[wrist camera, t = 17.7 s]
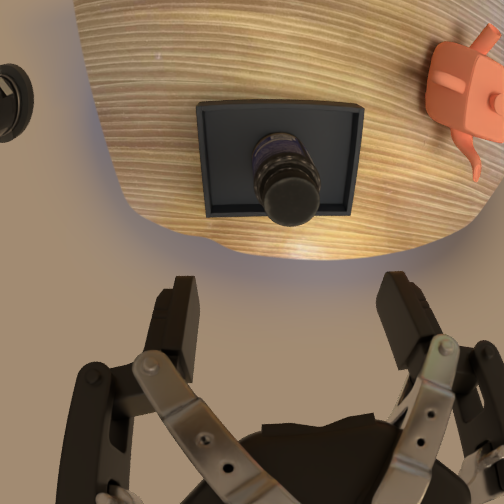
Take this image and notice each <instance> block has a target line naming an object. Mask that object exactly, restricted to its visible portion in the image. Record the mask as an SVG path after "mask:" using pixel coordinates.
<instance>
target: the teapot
mask: <svg viewBox="0 0 504 504" xmlns="http://www.w3.org/2000/svg"><path fill="white" fill-rule="evenodd" d="M500 37H501V33H500V32H499V30H498V29H497V28H496V27H494V26H493V25H492V24H490V23H488V24H487V26H486V27H485V28H484V30H483V31H482V32H481V33H480V35H479V36H478V37H477V38H476V40H475V41H474V42H473V44H472V45H471V46H470V47H466V46H463V45H461V44H458V43H454V42H448V41H444V42H442V43H440V44H438V45H437V47H436V49H435V51H434V54H433V55H432V57H431V65H430V69H429V74H428V80H427V89H426V93H425V100H426V104H425V105H426V111H427V113H428V115H429V116H430V118H432V119H433V120H434V121H436V122H438V123H440V124H443V125H445V126H447V127H450V131H451V136H452V139H453V141H454V143H455V145H456V146H457V147H458V149H459V150H460V151H461V152H462V153H463V154H464V155H465V156H466V157H467V158H468V159H469V161H470V163H471V165H472V170H473V180H474V182H477V181H478V179H479V177H480V173H481V160H480V157H479V155H478V154H477V152H476V151H475V149H474V147H473V136H475V137H478V138H482V139H485V140H489V141H493V142H497V143H503V142H504V66H502V65H501V64H499V63H498V62H496V61H494V60H493V59H491V58H489V57H488V56H486V54H487V53H488V52H489V51H490V49H491V48H492V47H493V46H494V45H495V43H496V42H497V41H498V40H499V38H500Z"/></svg>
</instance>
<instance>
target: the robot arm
mask: <svg viewBox="0 0 504 504" xmlns="http://www.w3.org/2000/svg"><path fill="white" fill-rule="evenodd" d="M21 109H22V98H21V92H20V89H19V86H18V84H17V83H16V81H15V80H14V79H13V78H12V77H11V76H9V75H7V74H0V137H1V136H4V135H6V134H8V133H9V132H11V131H12V130H13V129H14V128H15V126H16V125H17V123H18V121H19V118H20V115H21ZM376 308H377V312H378V314H379V317H380V319H381V322H382V325H383V328H384V330H385V333H386V336H387V338H388V341H389V344H390V347H391V350H392V352H393V355H394V358H395V361H396V364H397V367H398V370H404V369H408V371H409V374H408V376H407V378H406V380H405V383H404V386H403V388H402V390H401V393H400V395H399V397H398V400H397V402H396V405H395V407H394V409H393V411H392V413H391V414H390V416H389V417H388V419H387V421H386V422H385V421H382V420H376V419H375V417H374V413H369V414H363V415H357V416H350V417H347V418H344V419H342V420H339V421H336V422H334V423H331V424H329V425H326V426H323V427H315V426H308V425H301V424H295V423H282V424H262V430H261V431H259V432H255V433H253V434H250V435H248V436H246V437H244V438H242V439H241V440H239V441H237V440H236V439H235V438H234V437H233V435H232V434H231V433H230V432H229V431H228V430H227V428H226V427H225V426H224V425H223V424H222V422H221V421H220V420H219V419H218V418H217V417H216V415H215V414H214V413H213V412H212V410H211V409H210V408H209V407H208V405H207V404H206V403H205V402H204V401H203V400H202V399H201V398H199V397H197V396H196V395H195V393H194V392H193V391H192V389H191V388H190V387H189V385H188V384H187V383H192V381H193V371H194V361H195V351H196V342H197V334H198V325H199V316H200V305H199V297H198V292H197V286H196V280H195V276H176V278H175V282H174V286H173V289H163V291H162V292H161V293H160V294H159V296H158V297H157V299H156V302H155V306H154V310H153V314H152V319H151V322H150V326H149V330H148V334H147V339H146V343H145V347H144V350H143V352H142V353H141V354H140V355H138V356H137V357H136V359H135V360H134V362H132V363H130V364H127V365H124V366H119V367H114V368H108V367H107V366H106V365H105V364H104V363H101V362H91V363H88V364H86V365H85V366H83V368H81V370H80V371H79V373H78V375H77V379H76V383H75V387H74V392H73V396H72V401H71V405H70V409H69V414H68V419H67V424H66V430H65V435H64V440H63V447H62V453H61V459H60V466H59V474H58V483H57V492H56V504H143V502H142V500H141V499H140V498H139V497H138V496H137V495H136V494H134V493H132V492H130V491H129V475H130V460H131V446H132V435H133V425H134V416H139V415H144V414H148V413H153V412H157V413H158V415H159V417H160V418H161V420H162V422H163V423H164V425H165V426H166V428H167V429H168V430H169V432H170V433H171V435H172V436H173V438H174V439H175V441H176V442H177V443H178V445H179V446H180V447H181V449H182V450H183V452H184V453H185V454H186V456H187V457H188V459H189V460H190V461H191V463H192V464H193V465H194V466H195V468H196V469H197V470H198V472H199V473H200V474H201V475H202V477H203V478H204V479H203V480H202V481H201V482H200V483H199V484H198V485H197V486H196V487H195V488H194V490H193V491H192V492H191V493H190V494H189V495H188V496H187V497H186V498H185V499H184V500H183V501H182V502H181V503H180V504H483V503H486V502H488V501H491V500H494V499H496V498H499V497H501V496H504V363H503V361H502V359H501V356H500V354H499V352H498V350H497V348H496V347H495V346H494V345H493V344H492V343H491V342H489V341H486V340H483V341H479V342H478V343H477V344H476V345H475V347H474V348H470V347H463V346H459V345H458V343H457V342H456V340H455V339H454V338H452V337H450V336H449V335H446V334H443V332H442V330H441V328H440V326H439V324H438V322H437V320H436V318H435V316H434V314H433V312H432V310H431V308H430V307H429V304H428V302H427V301H426V298H425V296H424V294H423V293H422V291H421V289H420V288H419V287H417V286H416V285H415V284H414V283H413V282H409V280H408V278H407V276H406V275H405V273H404V272H403V271H394V272H386V273H385V275H384V278H383V281H382V284H381V286H380V289H379V292H378V295H377V298H376ZM478 385H479V387H480V390H481V393H482V396H483V399H484V408H483V406H482V403H481V400H480V397H479V394H478V391H477V388H476V387H477V386H478ZM452 409H453V413H454V416H455V420H456V424H457V428H458V432H459V436H460V440H461V445H462V449H463V453H464V458H465V459H464V461H463V463H462V468H461V469H460V471H459V476H458V475H456V474H455V473H454V472H453V471H451V470H450V469H449V468H448V467H446V466H445V465H444V464H442V463H441V462H440V461H439V460H437V459H436V456H437V454H438V451H439V448H440V445H441V442H442V440H443V437H444V434H445V430H446V427H447V424H448V421H449V418H450V414H451V411H452Z"/></svg>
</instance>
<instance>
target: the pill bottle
mask: <svg viewBox="0 0 504 504" xmlns="http://www.w3.org/2000/svg"><path fill="white" fill-rule="evenodd" d="M252 166H253V182H254V191H255V195H256V198H257V200H258V201H259V203H260V204H261V205H262V206H263V207H264V209H265V212H266V214H267V216H268V217H269V218H270V219H271V220H272V221H273V222H275V223H277V224H279V225H282V226H288V227H291V226H292V227H293V226H298V225H302V224H304V223H306V222H308V221H309V220H310V219H311V218H312V217H314V215H315V214H316V212H317V210H318V208H319V205H320V195H319V192H320V188H321V180H320V176H319V172H318V171H317V169H316V167H315V165H314V163H313V161H312V159H311V157H310V156H309V154H308V152H307V150H306V148H305V146H304V145H303V143H302V142H301V141H300V140H299V139H298V138H297V137H296V136H294V135H292V134H289V133H285V132H275V133H270V134H268V135H266V136H264V137H263V138H261V139H260V140H259V141H258V142H257V144H256V145H255V147H254V150H253V153H252Z"/></svg>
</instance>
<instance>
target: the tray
mask: <svg viewBox="0 0 504 504" xmlns="http://www.w3.org/2000/svg"><path fill="white" fill-rule="evenodd" d="M196 115H197V127H198V139H199V150H200V161H201V172H202V182H203V192H204V201H205V210H206V218H211V217H249V216H267V214H266V212H265V209H264V207H263V206H262V205H261V204H260V203H259V201H258V200H257V198H256V195H255V191H254V182H253V166H252V153H253V150H254V147H255V145H256V144H257V142H258V141H259V140H260V139H261V138H263V137H264V136H266V135H268V134H270V133H275V132H285V133H289V134H292V135H294V136H296V137H297V138H298V139H299V140H300V141H301V142H302V143H303V145H304V146H305V148H306V150H307V152H308V154H309V156H310V157H311V159H312V161H313V163H314V165H315V167H316V169H317V171H318V172H319V176H320V180H321V188H320V192H319V195H320V205H319V208H318V210H317V212H316V214H315V215H314V216H350V215H351V209H352V203H353V197H354V191H355V184H356V177H357V170H358V163H359V155H360V147H361V138H362V129H363V120H364V108H363V107H361V106H359V105H358V104H353V103H343V102H330V101H313V100H284V99H252V100H223V101H206V102H199V103H198V105H197V106H196Z"/></svg>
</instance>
